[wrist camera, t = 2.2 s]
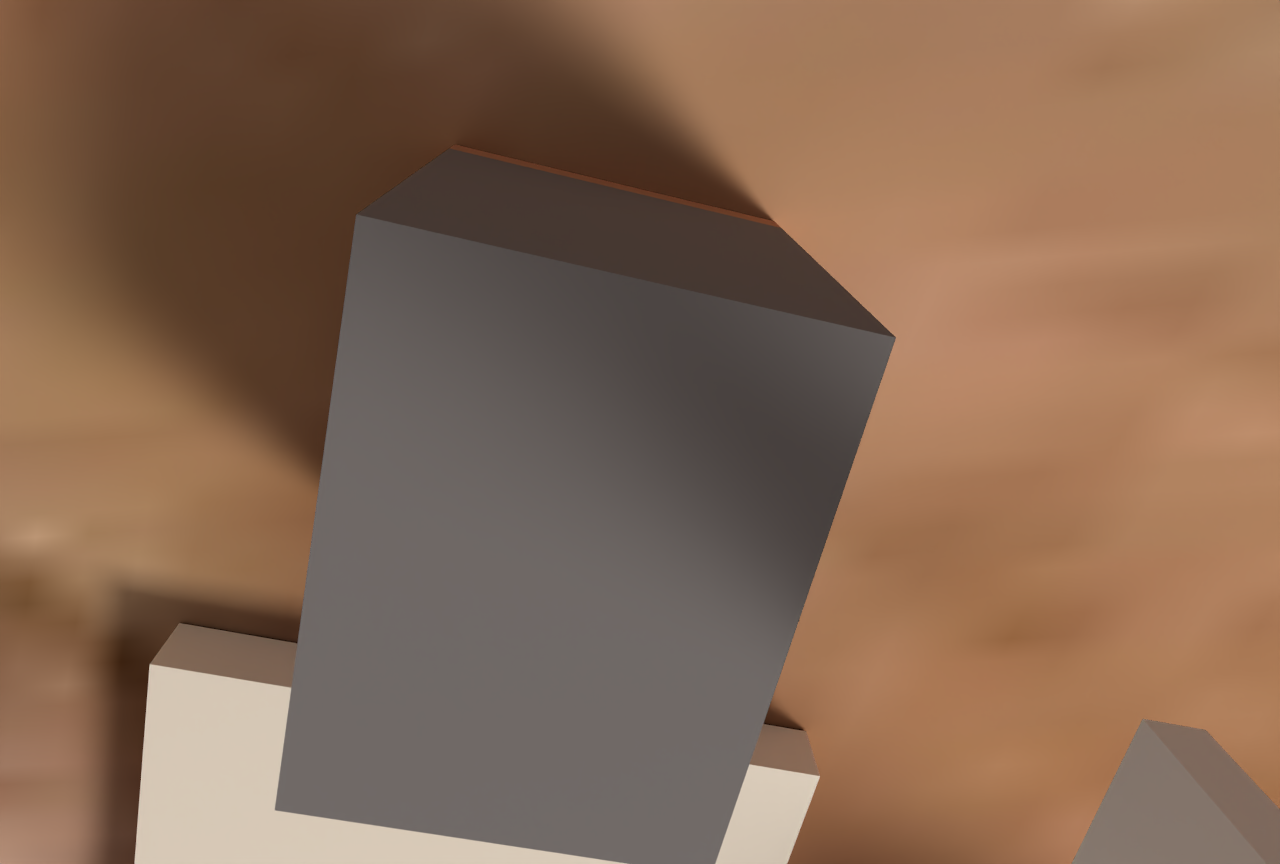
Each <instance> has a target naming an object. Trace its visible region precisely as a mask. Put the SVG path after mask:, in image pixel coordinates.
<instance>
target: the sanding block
mask: <svg viewBox="0 0 1280 864" xmlns="http://www.w3.org/2000/svg"><path fill="white" fill-rule="evenodd" d="M895 339H896V337H895V336H894V335H893V334H891V333H890V332H889V331H888V330H887V329H886V328H885V327H884V326H883V325H882V324H881V323H880V322H879V321H878V320H877V319H876V318H875V317H874V316H873V315H872V314H871V313H870V312H868V311H867V310H866V309H865V308H864V307H863V306H862V305H861V304H860V303H859V302H858V301H857V300H856V299H855V298H854V297H853V296H852V295H851V294H850V293H849V292H848V291H847V290H845V289H844V288H843V287H842V286H841V285H840V284H839V283H838V282H837V281H836V280H835V279H834V278H833V277H832V276H831V275H830V274H829V273H828V272H827V271H826V270H825V269H824V268H823V267H821V266H820V265H819V264H818V263H817V262H816V261H815V260H814V259H813V258H812V257H811V256H810V255H809V254H808V253H807V252H806V251H805V250H804V249H803V248H802V247H801V246H800V245H798V244H797V243H796V242H795V241H794V240H793V239H792V238H791V237H790V236H789V235H788V234H787V233H786V232H785V231H784V230H783V229H782V228H781V227H780V226H779V225H778V224H777V223H775V222H774V221H772V220H767V219H763V218H759V217H755V216H751V215H747V214H743V213H738V212H734V211H730V210H726V209H722V208H718V207H713V206H709V205H705V204H701V203H697V202H693V201H688V200H684V199H680V198H676V197H672V196H668V195H663V194H659V193H655V192H651V191H647V190H643V189H639V188H634V187H630V186H626V185H622V184H618V183H614V182H609V181H605V180H601V179H597V178H593V177H589V176H584V175H580V174H576V173H572V172H568V171H564V170H559V169H555V168H551V167H547V166H543V165H539V164H535V163H530V162H526V161H522V160H518V159H514V158H510V157H505V156H501V155H497V154H493V153H489V152H485V151H480V150H476V149H472V148H468V147H464V146H460V145H453V146H452V147H451V148H449V149H448V150H446V151H445V152H443V153H442V154H441V155H439V156H438V157H436V158H435V159H434V160H432V161H431V162H429V163H428V164H427V165H425V166H424V167H422V168H421V169H420V170H418V171H417V172H415V173H414V174H412V175H411V176H410V177H408V178H407V179H405V180H404V181H403V182H401V183H400V184H398V185H397V186H396V187H394V188H393V189H391V190H390V191H389V192H387V193H386V194H384V195H383V196H381V197H380V198H379V199H377V200H376V201H374V202H373V203H372V204H370V205H369V206H367V207H366V208H365V209H363V210H362V211H360V212H359V213H358V214H356V220H355V227H354V234H353V242H352V249H351V256H350V263H349V271H348V278H347V285H346V293H345V300H344V307H343V315H342V322H341V329H340V336H339V344H338V351H337V358H336V366H335V373H334V380H333V388H332V395H331V402H330V410H329V417H328V424H327V431H326V439H325V446H324V453H323V461H322V468H321V475H320V483H319V490H318V497H317V504H316V512H315V519H314V526H313V534H312V541H311V548H310V556H309V563H308V570H307V577H306V585H305V592H304V599H303V607H302V614H301V621H300V629H299V636H298V643H297V650H296V658H295V665H294V672H293V680H292V687H291V694H290V702H289V709H288V716H287V724H286V731H285V738H284V745H283V753H282V760H281V767H280V775H279V782H278V789H277V797H276V804H275V810H276V811H282V812H289V813H296V814H302V815H309V816H315V817H322V818H329V819H335V820H342V821H349V822H355V823H362V824H368V825H375V826H382V827H388V828H395V829H402V830H408V831H415V832H421V833H428V834H435V835H441V836H448V837H455V838H461V839H468V840H474V841H481V842H488V843H494V844H501V845H508V846H514V847H521V848H527V849H534V850H541V851H547V852H554V853H561V854H567V855H574V856H580V857H587V858H594V859H600V860H607V861H613V862H620V863H627V864H715V863H716V860H717V857H718V854H719V851H720V849H721V846H722V843H723V840H724V837H725V834H726V831H727V828H728V825H729V822H730V819H731V816H732V814H733V811H734V808H735V805H736V802H737V799H738V796H739V793H740V790H741V787H742V784H743V782H744V779H745V776H746V773H747V770H748V767H749V764H750V761H751V758H752V755H753V752H754V749H755V747H756V744H757V741H758V738H759V735H760V732H761V729H762V726H763V723H764V720H765V717H766V714H767V712H768V709H769V706H770V703H771V700H772V697H773V694H774V691H775V688H776V685H777V682H778V680H779V677H780V674H781V671H782V668H783V665H784V662H785V659H786V656H787V653H788V650H789V647H790V645H791V642H792V639H793V636H794V633H795V630H796V627H797V624H798V621H799V618H800V615H801V613H802V610H803V607H804V604H805V601H806V598H807V595H808V592H809V589H810V586H811V583H812V580H813V578H814V575H815V572H816V569H817V566H818V563H819V560H820V557H821V554H822V551H823V548H824V546H825V543H826V540H827V537H828V534H829V531H830V528H831V525H832V522H833V519H834V516H835V513H836V511H837V508H838V505H839V502H840V499H841V496H842V493H843V490H844V487H845V484H846V481H847V478H848V476H849V473H850V470H851V467H852V464H853V461H854V458H855V455H856V452H857V449H858V446H859V444H860V441H861V438H862V435H863V432H864V429H865V426H866V423H867V420H868V417H869V414H870V411H871V409H872V406H873V403H874V400H875V397H876V394H877V391H878V388H879V385H880V382H881V379H882V377H883V374H884V371H885V368H886V365H887V362H888V359H889V356H890V353H891V350H892V347H893V344H894V342H895Z"/></svg>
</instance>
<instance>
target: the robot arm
mask: <svg viewBox="0 0 1280 864" xmlns="http://www.w3.org/2000/svg"><path fill="white" fill-rule="evenodd" d="M1072 864H1280V809H1279V808H1278V807H1277V806H1276V805H1275V804H1274V803H1273V802H1272V801H1271V800H1270V798H1269V797H1268V796H1267V795H1266V794H1265V793H1264V792H1263V791H1262V790H1261V789H1260V788H1259V787H1258V786H1257V785H1256V783H1255V782H1254V781H1253V780H1252V779H1251V778H1250V777H1249V776H1248V775H1247V774H1246V773H1245V772H1244V771H1243V770H1242V769H1241V767H1240V766H1239V765H1238V764H1237V763H1236V762H1235V761H1234V760H1233V759H1232V758H1231V757H1230V756H1229V755H1228V754H1227V752H1226V751H1225V750H1224V749H1223V748H1222V747H1221V746H1220V745H1219V744H1218V743H1217V742H1216V741H1215V740H1214V739H1213V737H1212V736H1211V735H1210V734H1209V733H1208V732H1207V731H1206V730H1203V729H1197V728H1191V727H1186V726H1180V725H1175V724H1169V723H1163V722H1158V721H1152V720H1146V719H1142V721H1141V724H1140V726H1139V728H1138V730H1137V732H1136V734H1135V736H1134V738H1133V740H1132V742H1131V744H1130V746H1129V748H1128V750H1127V752H1126V754H1125V756H1124V758H1123V760H1122V762H1121V764H1120V766H1119V768H1118V770H1117V772H1116V774H1115V776H1114V778H1113V781H1112V783H1111V785H1110V787H1109V789H1108V791H1107V793H1106V795H1105V797H1104V799H1103V801H1102V803H1101V805H1100V807H1099V809H1098V811H1097V813H1096V815H1095V817H1094V819H1093V821H1092V823H1091V825H1090V827H1089V829H1088V831H1087V833H1086V836H1085V838H1084V840H1083V842H1082V844H1081V846H1080V848H1079V850H1078V852H1077V854H1076V856H1075V858H1074V860H1073V862H1072Z"/></svg>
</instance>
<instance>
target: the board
mask: <svg viewBox="0 0 1280 864" xmlns="http://www.w3.org/2000/svg"><path fill="white" fill-rule="evenodd" d="M296 650H297V643H292V642H286V641H281V640H275V639H269V638H263V637H257V636H252V635H246V634H240V633H234V632H229V631H223V630H217V629H211V628H205V627H200V626H194V625H188V624H182V623H179V624H178V625H177V627H176V628H175V630H174V631H173V632H172V634H171V635H170V637H169V638H168V639H167V641H166V642H165V643H164V645H163V646H162V648H161V649H160V650H159V652H158V653H157V655H156V656H155V657H154V659H153V660H152V662H151V663H150V666H149V679H148V692H147V706H146V719H145V732H144V745H143V758H142V771H141V784H140V798H139V811H138V824H137V837H136V850H135V863H134V864H627V863H620V862H613V861H607V860H600V859H594V858H587V857H580V856H574V855H567V854H561V853H554V852H547V851H541V850H534V849H527V848H521V847H514V846H508V845H501V844H494V843H488V842H481V841H474V840H468V839H461V838H455V837H448V836H441V835H435V834H428V833H421V832H415V831H408V830H402V829H395V828H388V827H382V826H375V825H368V824H362V823H355V822H349V821H342V820H335V819H329V818H322V817H315V816H309V815H302V814H296V813H289V812H282V811H276V810H275V804H276V797H277V789H278V782H279V775H280V767H281V760H282V753H283V745H284V738H285V731H286V724H287V716H288V709H289V702H290V694H291V687H292V680H293V672H294V665H295V658H296ZM819 778H820V775H819V771H818V768H817V765H816V762H815V759H814V755H813V752H812V749H811V746H810V743H809V739H808V736H807V733H806V731H801V730H795V729H790V728H784V727H778V726H772V725H766V724H763V726H762V729H761V732H760V735H759V738H758V741H757V744H756V747H755V749H754V752H753V755H752V758H751V761H750V764H749V767H748V770H747V773H746V776H745V779H744V782H743V784H742V787H741V790H740V793H739V796H738V799H737V802H736V805H735V808H734V811H733V814H732V816H731V819H730V822H729V825H728V828H727V831H726V834H725V837H724V840H723V843H722V846H721V849H720V851H719V854H718V857H717V860H716V863H715V864H787V863H788V860H789V857H790V855H791V852H792V849H793V847H794V844H795V841H796V839H797V836H798V833H799V831H800V828H801V825H802V823H803V820H804V817H805V815H806V812H807V810H808V807H809V804H810V802H811V799H812V796H813V794H814V791H815V788H816V786H817V783H818V780H819Z"/></svg>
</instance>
